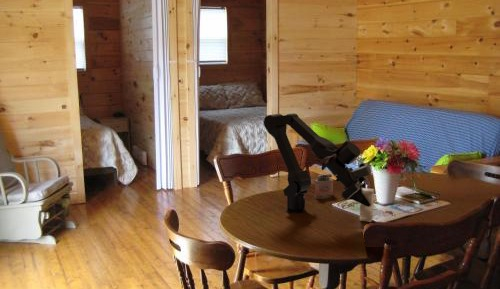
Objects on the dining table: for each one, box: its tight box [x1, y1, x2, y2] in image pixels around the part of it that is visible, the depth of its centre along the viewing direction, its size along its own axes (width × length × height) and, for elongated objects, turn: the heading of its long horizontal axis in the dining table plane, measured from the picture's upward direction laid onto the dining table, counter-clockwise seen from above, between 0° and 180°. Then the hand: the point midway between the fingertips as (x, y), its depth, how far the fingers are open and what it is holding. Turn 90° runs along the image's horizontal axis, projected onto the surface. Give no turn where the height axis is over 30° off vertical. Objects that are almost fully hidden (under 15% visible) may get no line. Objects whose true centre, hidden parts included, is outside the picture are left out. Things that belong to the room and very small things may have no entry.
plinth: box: [373, 209, 383, 216], centre depth 201 cm, size 6×6×1 cm
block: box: [359, 187, 375, 223], centre depth 190 cm, size 4×4×11 cm
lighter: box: [314, 173, 334, 200], centre depth 224 cm, size 8×3×10 cm, turn 105°
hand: (370, 204), depth 190 cm, fingers closed on block, 4 cm apart
